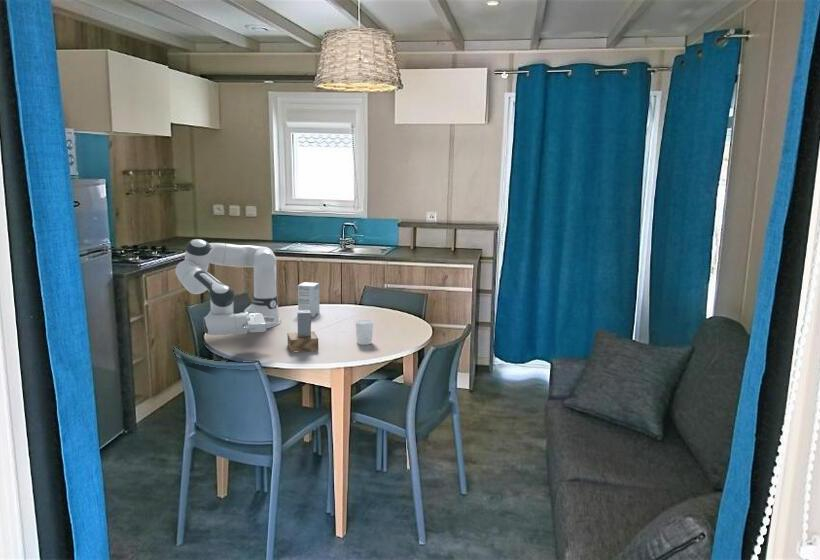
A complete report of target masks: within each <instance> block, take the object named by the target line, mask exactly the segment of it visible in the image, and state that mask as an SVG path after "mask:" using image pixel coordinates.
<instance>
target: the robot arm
mask: <svg viewBox="0 0 820 560" xmlns="http://www.w3.org/2000/svg"><path fill="white" fill-rule="evenodd" d="M210 264H213V265H215V266H216V265H218V266H224V267H233V268H253V297H251V298H250V300H252V301H251V304H250V305H249V306H247V307H246V308H245V309H244V311H242V312H239V313H234V306H235V305H234V301H235V300H234V299H235V291H234V289H233V288H231V287H230V286H229V285H227V284H225V283H223V282H221V281H220V280H218V279H217V278H216V277H214V276H213V274H211V273H210V272H209V271H208V270H209V266H210ZM174 272H175V275H176V278H177V279H178V281H179V282H180V283H181V285H182V286H183V287H184V288H185V290H187V291H188V293H191V294H192V295H200V294H203V293H205V292H206V291H208V294H209V301H210V303H209V304H210V310H209V312H208V314H207V315H206V316H203V318H202V325H203V330H204V333H205V334H206V335H210V336H226V335H230V334H233V335H242V334H244V335H247V334H248V332H249V333H264V332H267V329H270V328H273V327H274V328H275V327H276V326H278V325H280V324H281V320H282V318H280V312H279V305H278V295H277V257H276V255H275V253H274V252H273V250H272V249H271V248H269V247H267V246H262V245H261V246H258V245H242V244H233V243H224V242H210V243H209V242H208V241H206V240H204V239H201V238H194V239H191V240H189V241H188V242H187V244H186V247H185V254H184V260H183V261H180V262H178V264H177V265H176V267H175V271H174Z"/></svg>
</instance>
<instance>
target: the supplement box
mask: <svg viewBox="0 0 820 560" xmlns="http://www.w3.org/2000/svg"><path fill="white" fill-rule="evenodd" d="M297 310H310V312H311V317H315V316H317V315H318V314H320V313H319V312H320V310H321V309H320V283H319V282H308V281H307V282H306V281H305V282H302V283H299V284H298V285H297ZM316 314H317V315H316Z"/></svg>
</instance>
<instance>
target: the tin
mask: <svg viewBox="0 0 820 560" xmlns="http://www.w3.org/2000/svg"><path fill="white" fill-rule="evenodd" d="M296 315H297V316H296V317H297V318H296V320H297V321H296V322H297V323H296V324H297V325H296V326H297V333H298V338H301V337H311V332H312V320H311V319H312V316H311V312H310V310H298V309H297V311H296Z"/></svg>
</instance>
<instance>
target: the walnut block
mask: <svg viewBox="0 0 820 560" xmlns="http://www.w3.org/2000/svg"><path fill="white" fill-rule="evenodd" d="M288 346H289V347H288ZM287 347H288V349H289V348H290V349H289V351H291V352H294V351H307V352H312V351H311V350H318V351H319V337H318V335H317V334H316V333H315V331H311V337H301V338H298V332H287ZM291 352H290V353H291ZM294 353H295V352H294Z"/></svg>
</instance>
